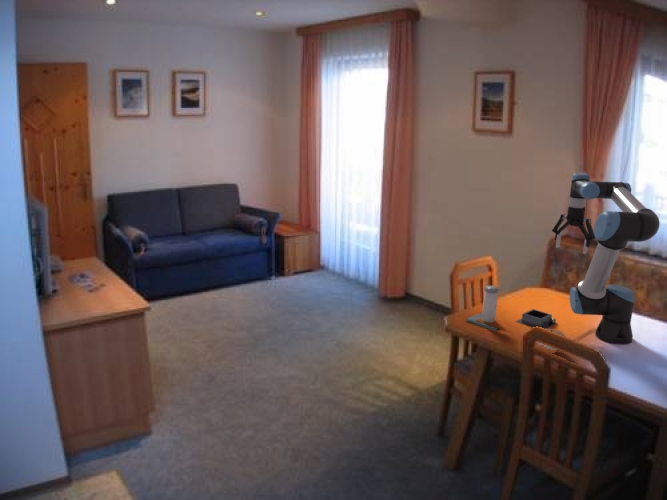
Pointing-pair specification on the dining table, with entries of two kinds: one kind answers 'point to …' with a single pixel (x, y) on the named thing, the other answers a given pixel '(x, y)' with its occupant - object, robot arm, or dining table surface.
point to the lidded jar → (554, 332)
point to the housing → (537, 319)
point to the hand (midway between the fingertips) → (571, 250)
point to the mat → (474, 318)
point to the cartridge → (490, 303)
